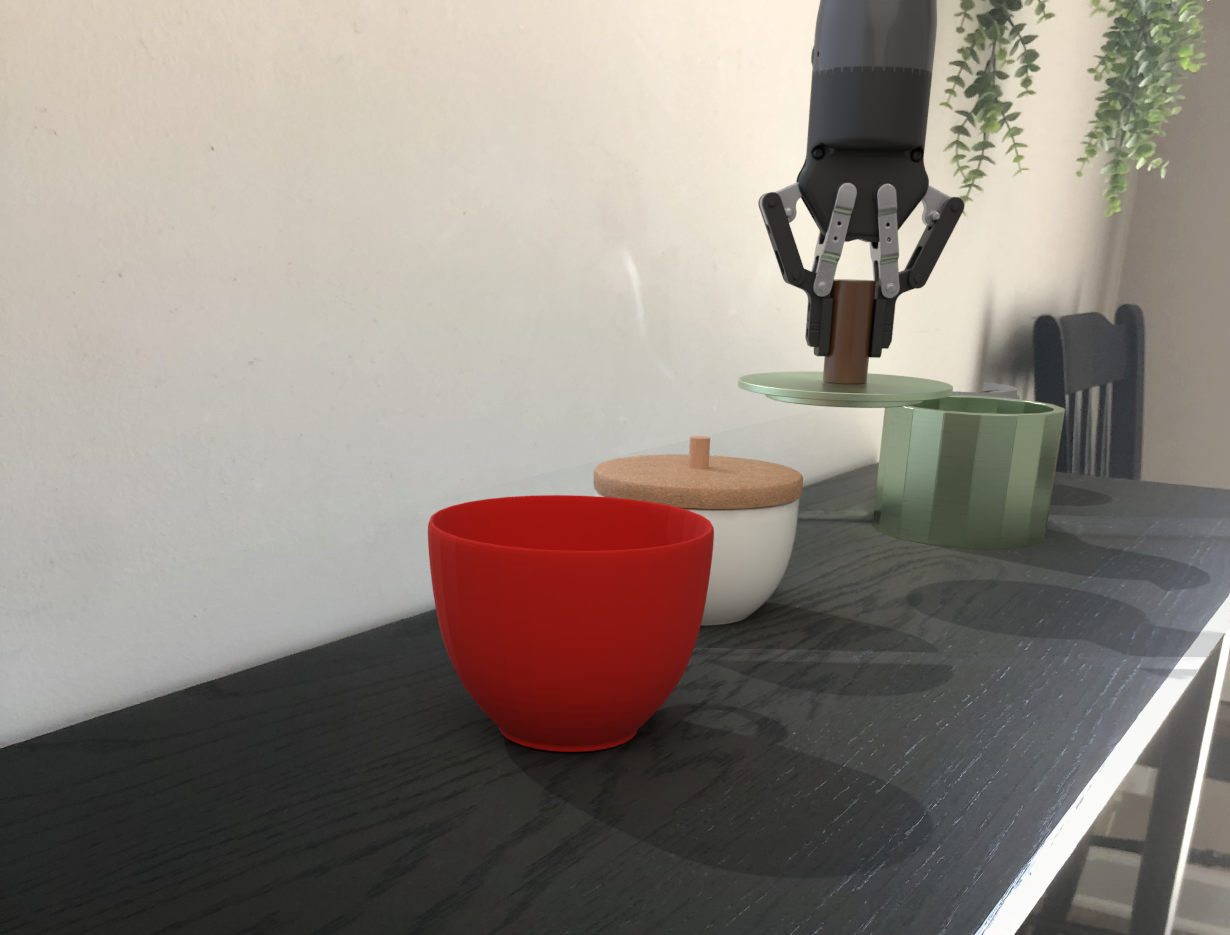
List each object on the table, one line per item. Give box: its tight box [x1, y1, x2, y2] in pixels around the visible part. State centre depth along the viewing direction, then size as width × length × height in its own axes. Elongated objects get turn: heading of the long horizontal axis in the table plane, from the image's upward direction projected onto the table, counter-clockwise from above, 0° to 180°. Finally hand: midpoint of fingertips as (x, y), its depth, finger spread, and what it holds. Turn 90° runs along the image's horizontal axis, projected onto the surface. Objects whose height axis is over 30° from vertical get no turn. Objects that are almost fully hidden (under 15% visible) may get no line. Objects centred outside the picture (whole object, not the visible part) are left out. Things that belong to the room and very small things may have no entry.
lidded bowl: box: [593, 435, 804, 626], centre depth 81 cm, size 13×13×11 cm
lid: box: [737, 278, 954, 409], centre depth 91 cm, size 15×15×8 cm
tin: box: [872, 395, 1066, 550], centre depth 107 cm, size 14×14×10 cm
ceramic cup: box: [427, 494, 714, 753], centre depth 64 cm, size 13×17×10 cm
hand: (847, 354), depth 91 cm, fingers closed on lid, 3 cm apart
